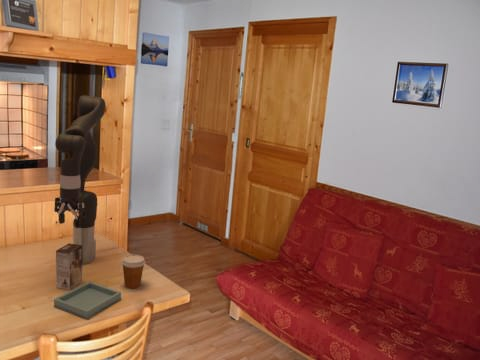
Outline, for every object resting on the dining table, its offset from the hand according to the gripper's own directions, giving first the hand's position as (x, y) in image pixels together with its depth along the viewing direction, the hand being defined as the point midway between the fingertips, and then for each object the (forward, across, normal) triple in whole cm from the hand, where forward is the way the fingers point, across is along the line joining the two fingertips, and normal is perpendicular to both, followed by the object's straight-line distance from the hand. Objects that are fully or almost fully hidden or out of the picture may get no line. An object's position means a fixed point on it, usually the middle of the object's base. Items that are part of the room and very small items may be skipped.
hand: (69, 225), depth 176 cm
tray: (+25, -17, +7) cm, 31 cm away
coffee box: (+26, 0, 0) cm, 26 cm away
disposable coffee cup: (+26, -21, -14) cm, 36 cm away
